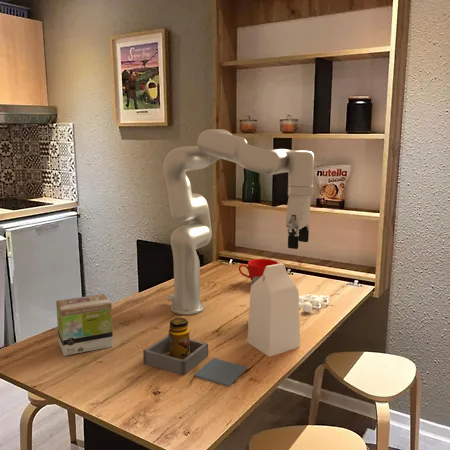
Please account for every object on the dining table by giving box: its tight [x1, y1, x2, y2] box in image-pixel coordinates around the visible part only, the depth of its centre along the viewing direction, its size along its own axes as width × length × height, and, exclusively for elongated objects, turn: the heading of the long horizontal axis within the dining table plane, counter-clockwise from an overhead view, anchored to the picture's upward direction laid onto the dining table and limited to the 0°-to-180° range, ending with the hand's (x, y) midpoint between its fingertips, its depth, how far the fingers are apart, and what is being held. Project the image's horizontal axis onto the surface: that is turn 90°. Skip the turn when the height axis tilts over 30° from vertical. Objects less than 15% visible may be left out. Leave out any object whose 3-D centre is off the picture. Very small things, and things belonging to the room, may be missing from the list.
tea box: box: [55, 293, 114, 357], centre depth 149 cm, size 15×10×15 cm, turn 117°
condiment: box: [163, 317, 191, 360], centre depth 140 cm, size 7×8×12 cm
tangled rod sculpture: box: [299, 293, 332, 313], centre depth 185 cm, size 19×14×4 cm
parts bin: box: [142, 333, 209, 376], centre depth 141 cm, size 14×13×4 cm
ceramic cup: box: [238, 258, 279, 282], centre depth 206 cm, size 13×17×10 cm
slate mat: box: [193, 357, 248, 387], centre depth 135 cm, size 11×11×1 cm
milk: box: [247, 262, 301, 357], centre depth 149 cm, size 12×12×26 cm
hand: (298, 244), depth 152 cm, fingers open, 9 cm apart
